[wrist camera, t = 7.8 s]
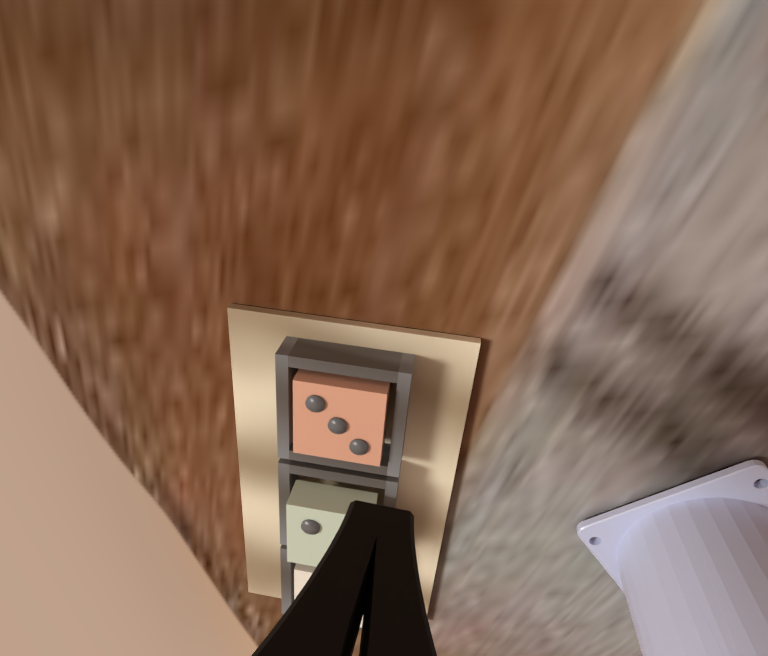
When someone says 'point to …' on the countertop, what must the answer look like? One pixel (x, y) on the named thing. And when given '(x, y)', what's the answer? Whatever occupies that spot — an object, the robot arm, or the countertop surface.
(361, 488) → the key board
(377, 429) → the key three
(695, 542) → the robot arm
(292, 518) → the key two
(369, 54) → the countertop surface
